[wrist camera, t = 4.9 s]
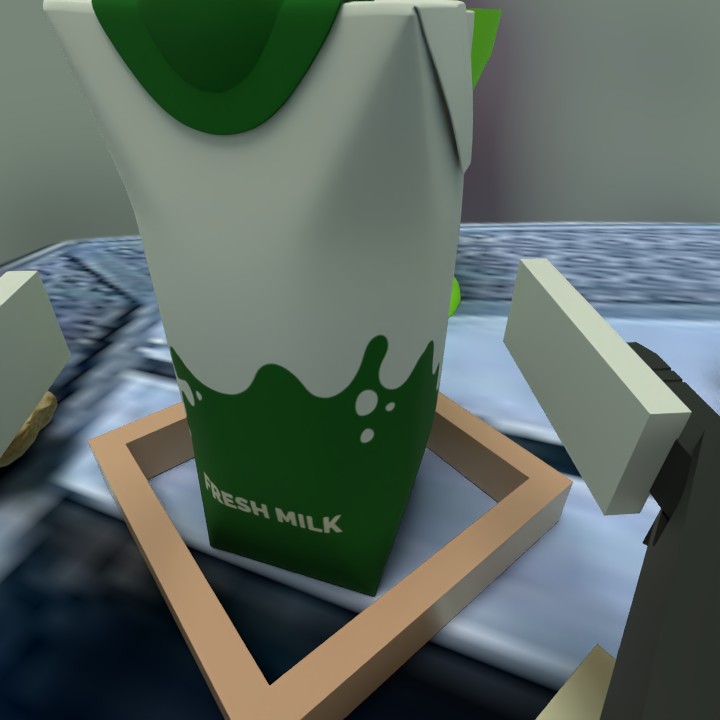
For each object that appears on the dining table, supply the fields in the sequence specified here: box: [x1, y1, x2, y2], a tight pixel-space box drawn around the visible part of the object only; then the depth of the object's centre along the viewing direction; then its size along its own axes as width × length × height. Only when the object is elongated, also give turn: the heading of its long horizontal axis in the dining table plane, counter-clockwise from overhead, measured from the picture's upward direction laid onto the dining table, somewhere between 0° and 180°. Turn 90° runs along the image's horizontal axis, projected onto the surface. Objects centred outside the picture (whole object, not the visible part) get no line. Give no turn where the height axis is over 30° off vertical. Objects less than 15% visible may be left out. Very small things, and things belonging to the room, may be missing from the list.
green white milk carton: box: [43, 0, 475, 596], centre depth 16 cm, size 9×9×20 cm
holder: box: [88, 392, 573, 720], centre depth 21 cm, size 14×14×2 cm
